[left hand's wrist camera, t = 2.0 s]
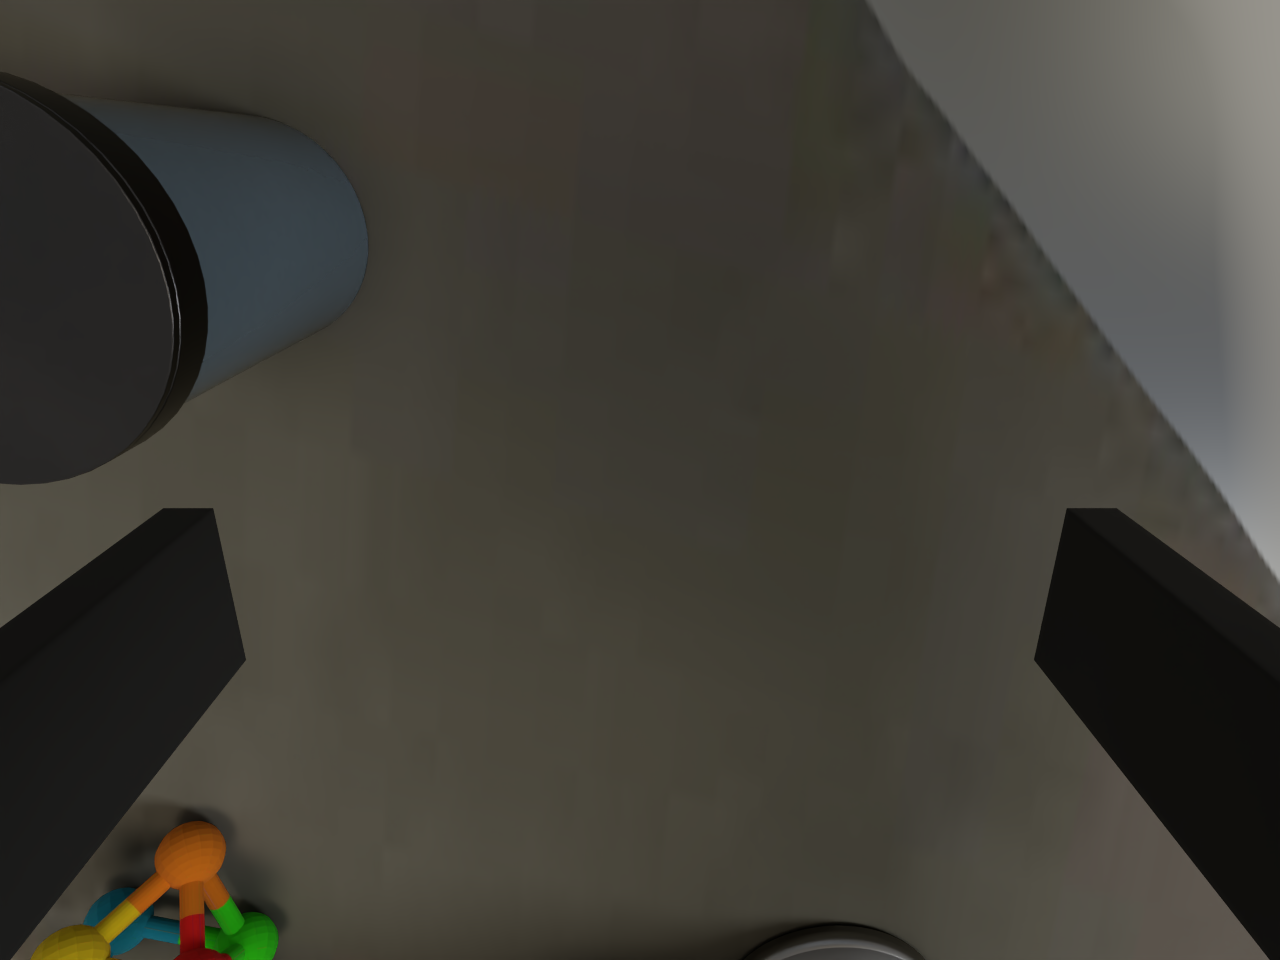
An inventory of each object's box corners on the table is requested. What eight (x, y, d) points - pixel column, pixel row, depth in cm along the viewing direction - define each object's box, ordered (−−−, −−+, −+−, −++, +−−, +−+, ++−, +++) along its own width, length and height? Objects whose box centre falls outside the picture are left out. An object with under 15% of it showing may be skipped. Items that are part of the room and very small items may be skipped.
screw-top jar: (189, 67, 35) (-197, -11, 19) (403, 190, 37) (218, 216, 21) (121, 273, 38) (-258, 357, 22) (321, 376, 40) (106, 524, 24)
